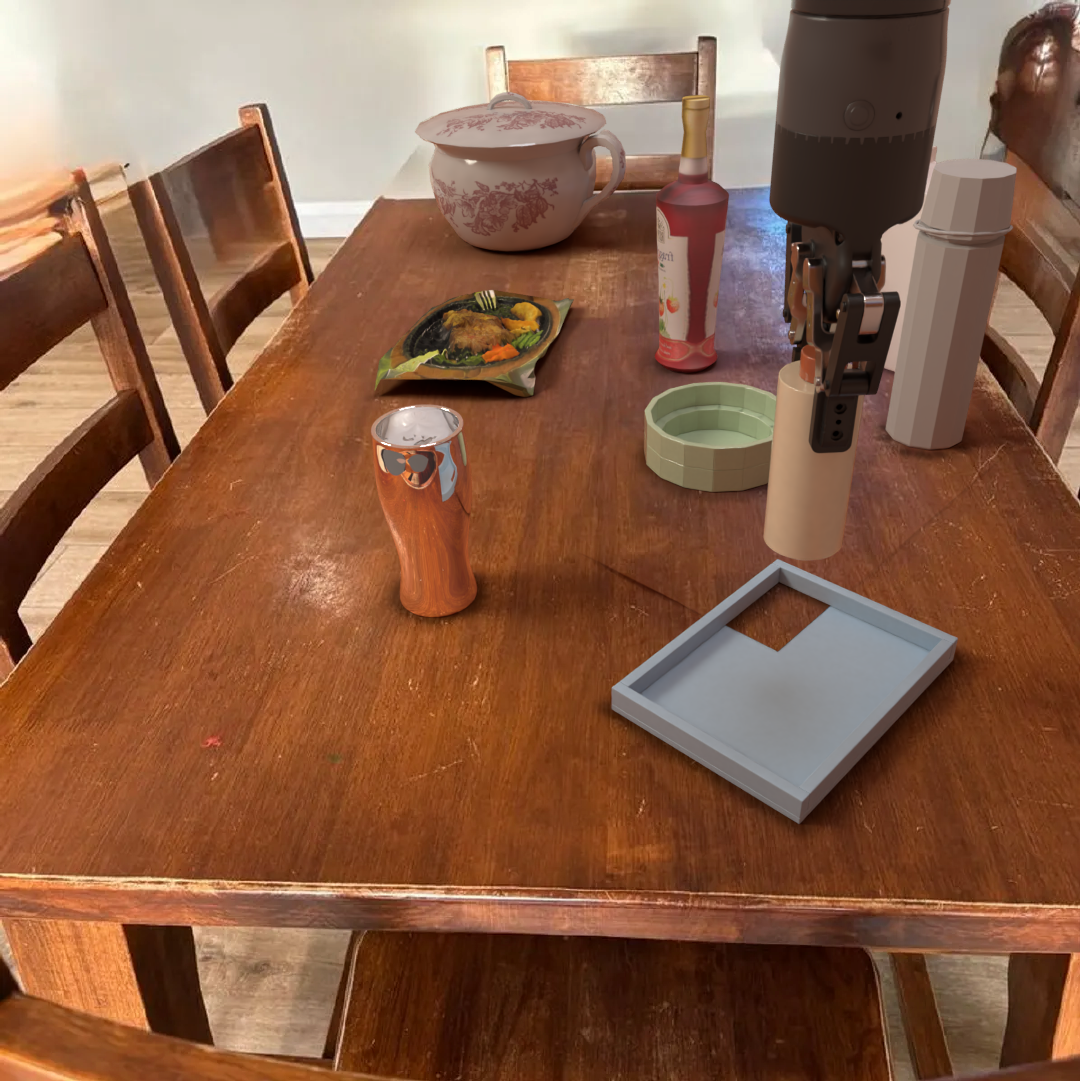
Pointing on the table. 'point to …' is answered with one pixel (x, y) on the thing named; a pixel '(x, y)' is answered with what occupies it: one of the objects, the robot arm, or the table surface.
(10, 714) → the table surface
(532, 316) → the prepared meal
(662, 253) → the liquor
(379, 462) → the beer glass
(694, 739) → the tray
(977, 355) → the water bottle
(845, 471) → the bottle
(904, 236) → the milk
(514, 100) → the chamber pot
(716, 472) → the bowl
